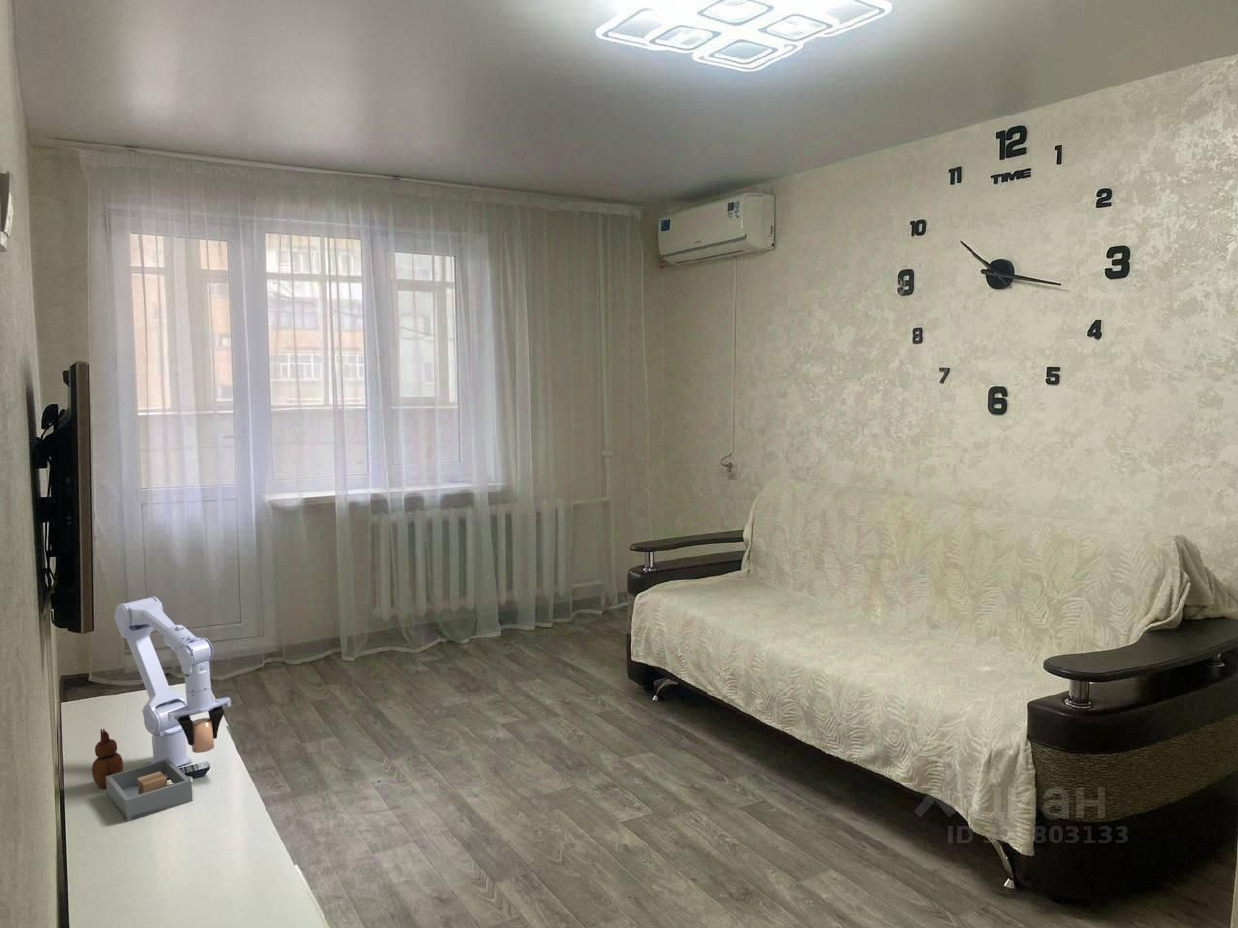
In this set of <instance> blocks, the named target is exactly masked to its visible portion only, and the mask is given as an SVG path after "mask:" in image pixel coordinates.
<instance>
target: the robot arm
mask: <svg viewBox="0 0 1238 928" xmlns="http://www.w3.org/2000/svg"><path fill="white" fill-rule="evenodd" d="M114 622H115V623H116V627H117V629H118V631H119V633H120V636H121V638H123V639H126V641H127V643H128V646H129V649H130V651H131V654H132V656H133V659H134V662H135V663H136V664H135V665H136V666H137V670H138V672H139V675H140V678H141V679H142V682H143V684H144V688H145V689H146V693H147V696H148V700H147V702H145V703H146V704H145V705H143V708H142V710H141V712H142V715H143V723H144V726H145V730H146V731H147V732H148V733H150V734H151V735H152V736H151V743H152V744H151V745H152V748H151V749H152V757H153V758H151V759H149V764H151V763H154V762H158V761H161V760H165V759H169V760H170V761H171V762H172V763H173V764H174V765H175V766H177V767H181V766H184V765H185V766H186V765H188V764H191V763H193V760H192V759H191V758H190V757H189V756H188V755H187V747H186V746H187V745H186V741H187V744H188V745H189V746H191V747H192V745H193V744H194V741H193V733H192V726H193V721H194V720H192V719H191V717H192V716H195V715H198V714H202V713H206V712H208V718H210V719H212V726H213V739H214V740H215V739H217V738H218V732H219V727H220V724H221V721H222V719H223V717H224V715H225V709H224V707H225V708H228V707H232V699H231V698H230V697H229V696H226V697H221V698H216V699H215V698H214V699H212V698H213V697H212V684H211V671H210V661H211V660H212V659H213V657H214V647H213V645H212V643H211V642H210V640H209V639H208V638H206V637H203V638H202V637H197V636H196V635H195V634H193V633H192V632H191V631H190V630H189V629H187V627H185V626H184V625H182V624H175V623H174V622H173V621H172V619H170V617H168V616H167V614H165V612H164V607H163V603H162V602H161V601H160V600H159V599H158V597H156V596H150V597H147V598H143V599H139V600H133V601H131V602H125V603H119V604H117V606H116V608H115V612H114ZM155 630H156V631H157V632H158V633H160V634H161V635H162V636H163V642H164V644H166V645H167V646H168V647H169V648H170V649H171V650H172V651H173V652H175V654H177V659H178V662H179V664H180V667H181V672H182V674H184V685H185V697H186V700H185V698H184V696H183V694H182V693H180V692H177V691H174V690H172V689H171V688H170V685H169V682H168V680H167V678H166V675H165V673H164V671H163V668H162V665H161V662H160V660H159V657H158V655H157V652H156V649H155V647H154V644H153V642H152V640H151V637H150V636H151V633H152V632H154V631H155Z"/></svg>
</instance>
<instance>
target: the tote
mask: <svg viewBox="0 0 1238 928" xmlns="http://www.w3.org/2000/svg"><path fill="white" fill-rule="evenodd" d="M178 767H179V766H178ZM178 767H177V766H175V765H174V764H173V763H172V762H171V761H170V760H169V759H165V760H161V761H158V762H154V763H149V764H144V765H141V766H137V767H133V768H130V769H127V770H123V772H119V773H116V774H112V775H109V776H106V786H107V788H106V797H107V798H108V799H109V800H110V802H111V803H112V804H113V805H114V807H115V808H116V809H117V810H118V812H119V813H120V814H121V816H122V817H123V819H124V820H125V821H126V822H127V823H129V822H131V821H135V820H138V819H141V818H144V817H147V816H150V815H153V814H156V813H160V812H163V811H165V810H168V809H171V808H174V807H175V808H176V807H179V806H181V805H184V804H187V803H190V802H193V800H194V799H193V790H192V789H193V788H192V780H191V779H190V778H189V777H188V775H186V774H185V773H184V772H183V771H182V770H181V769H180V768H178ZM156 772H161V773H162V774H163V775H164V774H167V775H168V777H169V778H170V780H171V781H172V782H173V783H174V784H171V785H170V784H169V785H167V786H166V787H163V788H159V789H156V790H153V791H150V792H146V793H143V794H140V795H139V793H138V786H137V785H138V782H137V778H140V777H143V776H146V775H150V774H153V773H156Z"/></svg>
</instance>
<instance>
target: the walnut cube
mask: <svg viewBox="0 0 1238 928" xmlns="http://www.w3.org/2000/svg"><path fill="white" fill-rule="evenodd" d="M137 782H138V793H139V795H140V794H143V793H146V792H150V791H153V790H156V789H159V788H163V787H166V786H167V778H166V777H165V776H164V775H163V774H162V773H161V772H156V773H153V774H150V775H146V776H143V777H140V778H137Z"/></svg>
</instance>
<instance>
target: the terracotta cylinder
mask: <svg viewBox="0 0 1238 928" xmlns="http://www.w3.org/2000/svg"><path fill="white" fill-rule="evenodd" d="M192 721H193V726H192V733H193V741H194V744H193V745H191V751H192V752H193V753H194V754H195V753H196V754H197V753H198V754H201V753H206V752H209V751H211V750H213V749H214V748H215V741H214V740H215V739H214V738H213V726H212V719H210V718H209V717H203V718H202V717H201V718H197V719H194V720H192Z"/></svg>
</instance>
